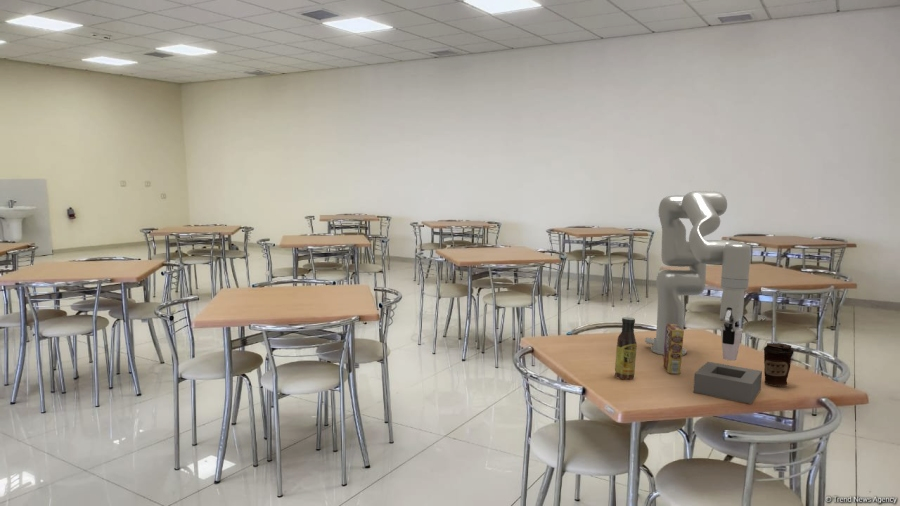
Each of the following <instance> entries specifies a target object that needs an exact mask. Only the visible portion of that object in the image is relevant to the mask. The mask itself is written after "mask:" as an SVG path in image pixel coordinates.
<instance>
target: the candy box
mask: <svg viewBox="0 0 900 506" xmlns="http://www.w3.org/2000/svg"><path fill="white" fill-rule="evenodd" d="M684 333H685V330H684V328H683V329H681V328H680V327H679V326H678V325H675V324H666V331H665V345H664V355H663V360H662V361H663V363H662V367H663V368H664V369H665V371H666V372H667V373H668V374H671V375H672V374H676V375H680V374H681V370H682V358H683V355H682V348H683V347H684V345H683V344H684Z"/></svg>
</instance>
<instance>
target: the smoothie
mask: <svg viewBox="0 0 900 506" xmlns="http://www.w3.org/2000/svg"><path fill="white" fill-rule="evenodd" d="M733 319H734V318H733ZM739 327H740V326H739ZM739 327H735V326H734V332H735V338H734V344H733V345H731V344H724V343H723V342H722V340H723V328H724V325H723V326H720V329H719V331H720V332H721V333H720V334H721V345H722V346H721V347H722V349H721V350H722V358H723V359H722V360H726V361H733V362H734V361H737V356H738V353H739V348H740V343H741V339H742V334H743V333H744V329H743V328H741V327H740V328H739Z"/></svg>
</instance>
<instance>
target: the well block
mask: <svg viewBox="0 0 900 506" xmlns="http://www.w3.org/2000/svg"><path fill="white" fill-rule="evenodd" d="M762 373H763V370H758V369H754V368H747V367H740V366H735V365H730V364H724V363H723V364H722V363H718V362H713V361H706V362H705V364H703V365H702V366H701V367H700V368H699V369H698V370H697V371H696V372H694V377H693V378H694V380H693V381H694V382H693V393H695V394H700V395H705V396H710V397H715V398H719V399H724V400H731V401H735V402H738V403H739V402H740V403H742V404H743V403H744V404H749V405H752V403H753V401H755V399H756V397H757V396H758V394H759V393H760V391H761V390H762Z"/></svg>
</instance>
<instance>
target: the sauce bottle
mask: <svg viewBox="0 0 900 506" xmlns="http://www.w3.org/2000/svg"><path fill="white" fill-rule="evenodd" d="M621 323H622V325H621V326H622V327H621V332H620V333H619V335H618V336H617V342H616V352H615V354H616V355H615V366H614V371H615V373H614V376H615V377H616V378H618V379H621V380H632V379H634V377H635V371H636V362H637V361H636V359H637V358H636V357H637V347H638V346H637V344H638V343H637V341H636V340H637V339H636V336H635V329H634V328H635V324H636V318H635V317H628V316H626V317H622V318H621Z"/></svg>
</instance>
